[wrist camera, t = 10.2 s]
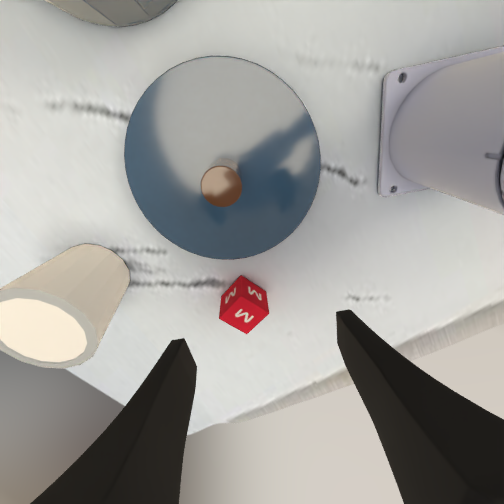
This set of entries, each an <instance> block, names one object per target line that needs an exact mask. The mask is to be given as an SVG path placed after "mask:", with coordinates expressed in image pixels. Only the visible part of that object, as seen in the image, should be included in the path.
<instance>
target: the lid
mask: <svg viewBox="0 0 504 504" xmlns="http://www.w3.org/2000/svg"><path fill="white" fill-rule="evenodd" d="M124 157H125V168H126V173H127V178H128V182H129V185H130V188H131V191H132V194H133V196H134V198H135V200H136V202H137V204H138V206H139V208H140V209H141V211H142V212H143V214H144V216H145V217H146V218H147V219H148V221H149V222H150V223H151V224H152V226H153V227H154V228H155V229H156V230H157V231H159V232H160V233H161V234H162V235H163V236H164V237H165V238H167V239H168V240H169V241H171V242H172V243H174V244H175V245H177V246H179V247H180V248H182V249H185V250H187V251H189V252H191V253H194V254H197V255H200V256H204V257H208V258H214V259H240V258H246V257H250V256H254V255H257V254H260V253H262V252H265V251H267V250H269V249H271V248H273V247H274V246H276V245H277V244H279V243H280V242H282V241H283V240H284V239H286V238H287V237H288V236H289V235H290V234H291V233H292V232H293V231H294V230H295V229H296V228H297V227H298V226H299V224H300V223H301V222H302V220H303V219H304V217H305V216H306V214H307V212H308V210H309V209H310V207H311V205H312V202H313V200H314V197H315V195H316V191H317V187H318V183H319V176H320V149H319V142H318V138H317V134H316V130H315V127H314V125H313V122H312V120H311V117H310V115H309V113H308V111H307V110H306V108H305V106H304V104H303V103H302V101H301V100H300V99H299V97H298V96H297V95H296V93H295V92H294V91H293V90H292V89H291V88H290V87H289V86H288V85H287V84H286V83H285V82H284V81H283V80H282V79H280V78H279V77H278V76H276V75H275V74H274V73H272V72H271V71H269V70H267V69H265V68H264V67H262V66H260V65H258V64H256V63H253V62H250V61H247V60H244V59H240V58H235V57H229V56H207V57H201V58H195V59H192V60H189V61H186V62H183V63H181V64H179V65H177V66H175V67H173V68H171V69H169V70H168V71H166V72H165V73H164V74H162V75H161V76H160V77H158V78H157V79H156V80H155V81H154V82H153V83H152V84H151V85H150V86H149V87H148V88H147V89H146V91H145V92H144V94H143V95H142V97H141V98H140V99H139V101H138V103H137V105H136V107H135V109H134V111H133V113H132V115H131V118H130V121H129V124H128V127H127V133H126V138H125V152H124Z"/></svg>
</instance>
